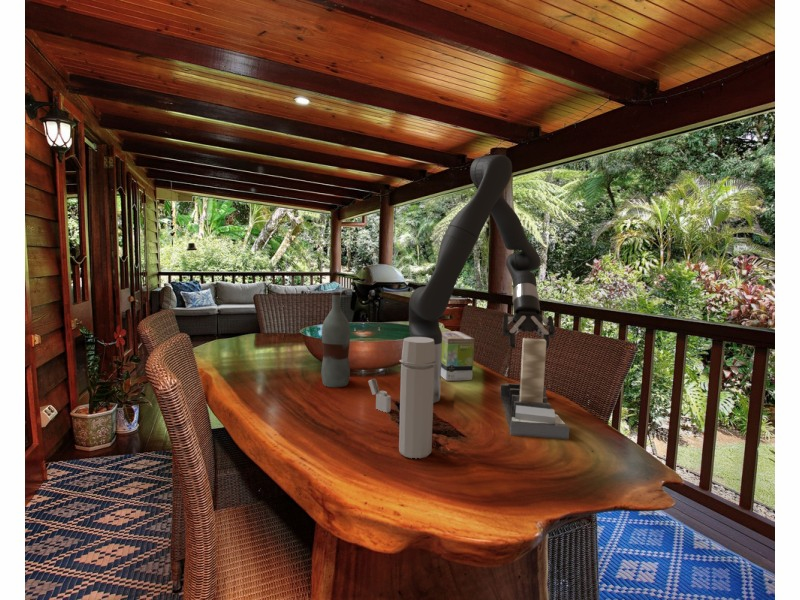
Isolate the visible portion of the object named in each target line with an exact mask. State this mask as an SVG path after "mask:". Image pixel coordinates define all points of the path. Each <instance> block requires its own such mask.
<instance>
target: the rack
mask: <svg viewBox="0 0 800 600" xmlns="http://www.w3.org/2000/svg"><path fill="white" fill-rule="evenodd" d="M499 395H500V399H501V403H502V406H503V411H504V414H505V419H506V422H507V426H508V429H509V435H510V436H519V437H529V438H530V437H531V438H543V439H555V440H556V439H557V440H569V439H570V425H569V424H565V425H559V424H545V423H530V422H518V421H512V417H515V413H516V405H518V406H527V407H536V408H545V409H552V405H551V403H549V402H548V397H547V396H546V395H547V388H546V386H544V389H543V403H537V402H522V401H519V397H520V383H511V382H508V384H505V383H504V384H503V383H502V384H500V390H499Z"/></svg>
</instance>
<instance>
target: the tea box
mask: <svg viewBox="0 0 800 600" xmlns="http://www.w3.org/2000/svg"><path fill="white" fill-rule="evenodd" d="M441 332H442V355H441V377H442V378H443V379H444V381H447V382H449V381H452V382H453V381H456V382H457V381H472V380H473V374H474V373H473V371H474V370H473V369H474V367H473V366H474V354H475V353H474V351H475V338H474V337H471V336H470V335H467V334H465V333H463V332H461V331H456V330H455V331H441Z"/></svg>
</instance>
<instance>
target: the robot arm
mask: <svg viewBox="0 0 800 600" xmlns="http://www.w3.org/2000/svg"><path fill="white" fill-rule="evenodd" d="M469 173H470V179H471V181H472V183H473V185H474V187H475V189H476V191H475V193H474V194H473V196H472V198H471V199H470V201H468V202H467V204H465V205H464V206H463V207H462V208H461V209H459V211H458V212H457V213H456V215H454V217H453V218H452V219H451V220H450V223H449V224H448V226H447V228H446V230H445V232H444V235H443V236H442V239H441V241H440V245H439V248H438V254H437V259H436V263H435V264H436V265H435V268H434V270H433V273H432V275H431V276H430V278H429V279H428V282H427V283H426V285H425V286H420V287H418V288H416V289H414V291H413V292H412V293H411V295H410V297H409V300H408V301H409V302H408V328H409V329H408V331H409V335H410V336H409V337H426V338H431V339H433V340H434V345H435V362H437V363H436V364H433V365H434V391H433V404H434V403H435V404H436V403H438V402H440V400H441V383H442V382H441V380H442V379H441V355H442V332H443V331H442V330H441V327H440V319H441V317H442V316H443V315H444V313H445V312H446V310H447V308H448V306H449V303H450V300H451V297H452V294H453V291H454V289H455V286H456V283H457V282H458V280H459V277H460V275H461V273H462V271H463V269H464V267H465V265H466V263H467V261H468V259H469V258H470V255H471V253H472V252H473V250H474V248H475V245H476V243H477V241H478V240H479V237H480V234H481V232H482V230H483V229H484V227H485V225H486V222H487V221H488V219H489V216H490V215H491V216H492V218H493V220H494V223H495V224H496V227H497V230H498V231H499V232H498V233H499V235H500V237H501V240H502V242H503V245H504V247H505V248H506V249H507V250H510V251H517V252H514V253H510V254H509V255H507V257H506V260H505V266H506V268H507V270H508V272H509V275H510V277H511V280H512V291H513V292H512V307H513V308H512V309H513V310H512V311H513V316H509V315H508V314H507V313H506V314H503V317H502V333H501V334H502V336H505V337H508V343H509V347H511V349H515V347H516V337H515V336H516V335H517V334H518V333H519V332H520V331H521V332H531V333H533V332H535V334H537V335H538V336H540V337H541V339H545V340H546V350H547V349H549V347H550V339H553V338H555V334H556V329H555V323H554V319H553V315H552V316H551V315H549V316H548V317H542V315H541V306H540V296H539V292H538V285H537V276H536V275H535V273H533V271H537V270H538V269H539V268H540V265H541V257H540V255H539V253H538V251H537V250H536V249H535V248H534V246H533V245H532V244H531V242H530V241H529V239H528V238H527V236H526V233H525V230H524V228H523V225H522V222H521V220H520V218H519V216H518V214H517V213H516V212H515V210H514V209H513V207H511V205H510V204H509V203H508V202H507V201H506V199H505V197H504V196H503V193H504V191H505V189H506V187H507V186H508V184H509V183H510V179H511V177H512V175H513V165H512V161H511V159H510V158H509V157H508V156H506V155H503V154H493V155H482V156H478V157H477V158H475V159H474V160H473V161H472V163H471V165H470V169H469ZM439 318H440V319H439ZM511 322H512V323H513V324H514V325H513V326H512V327H511V329H508V325H509V324H510V323H511ZM542 323H544V325H545V326H546V327H547V329H546V328H545V326H544V325H543V324H542Z"/></svg>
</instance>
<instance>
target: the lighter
mask: <svg viewBox="0 0 800 600" xmlns="http://www.w3.org/2000/svg"><path fill="white" fill-rule="evenodd" d="M367 382H368V385H369V388H370V391H371V394H372V396H373V395H375V410H376V409H378V410H377V411H379V410H380V411H379V412H382V411H383V413H385V412H386V414H387V413H390V412H391V408H392V407H391V404H392V399H391V398H392V397H391V395H389V394H388V392H387V391H385V390H380V388H379V385H378V382H377V379H376V378H371V379H369V380H368V381H367Z"/></svg>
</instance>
